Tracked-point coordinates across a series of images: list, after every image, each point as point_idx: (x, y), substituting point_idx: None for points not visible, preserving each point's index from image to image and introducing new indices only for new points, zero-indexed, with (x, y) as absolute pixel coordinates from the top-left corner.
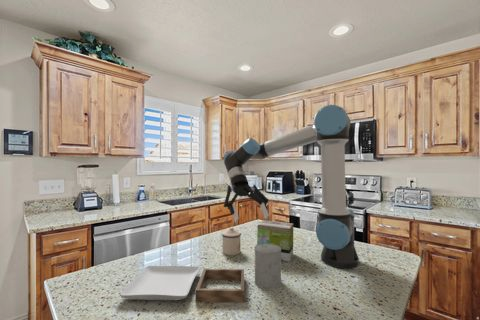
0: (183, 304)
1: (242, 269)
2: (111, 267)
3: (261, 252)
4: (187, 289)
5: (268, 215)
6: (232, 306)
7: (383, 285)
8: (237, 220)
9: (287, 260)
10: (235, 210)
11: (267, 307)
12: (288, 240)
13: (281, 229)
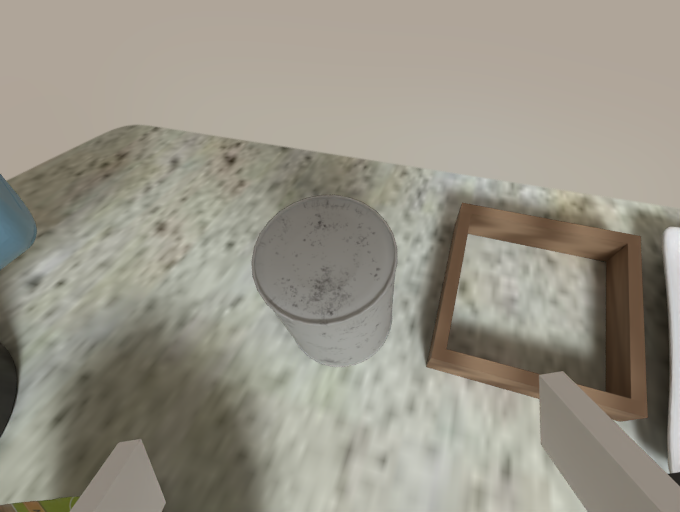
0: (657, 249)
1: (439, 356)
2: None
3: (377, 213)
4: (674, 291)
5: (125, 443)
6: None
7: None
8: (545, 408)
9: None
10: (644, 471)
11: (394, 191)
12: (64, 500)
13: None
